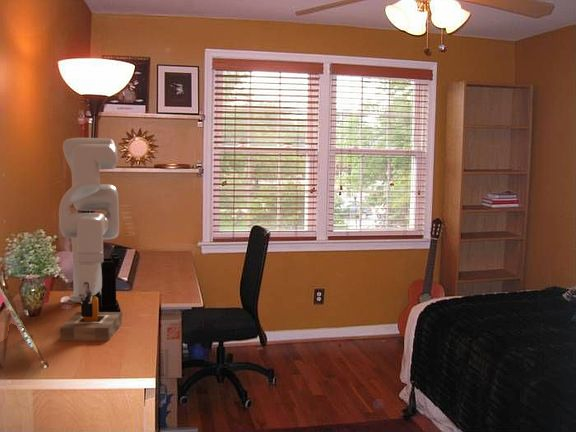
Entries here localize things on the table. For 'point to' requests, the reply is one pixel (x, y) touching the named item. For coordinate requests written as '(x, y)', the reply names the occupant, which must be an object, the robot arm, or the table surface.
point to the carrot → (95, 310)
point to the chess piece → (109, 285)
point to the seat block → (91, 327)
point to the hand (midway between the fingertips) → (91, 311)
